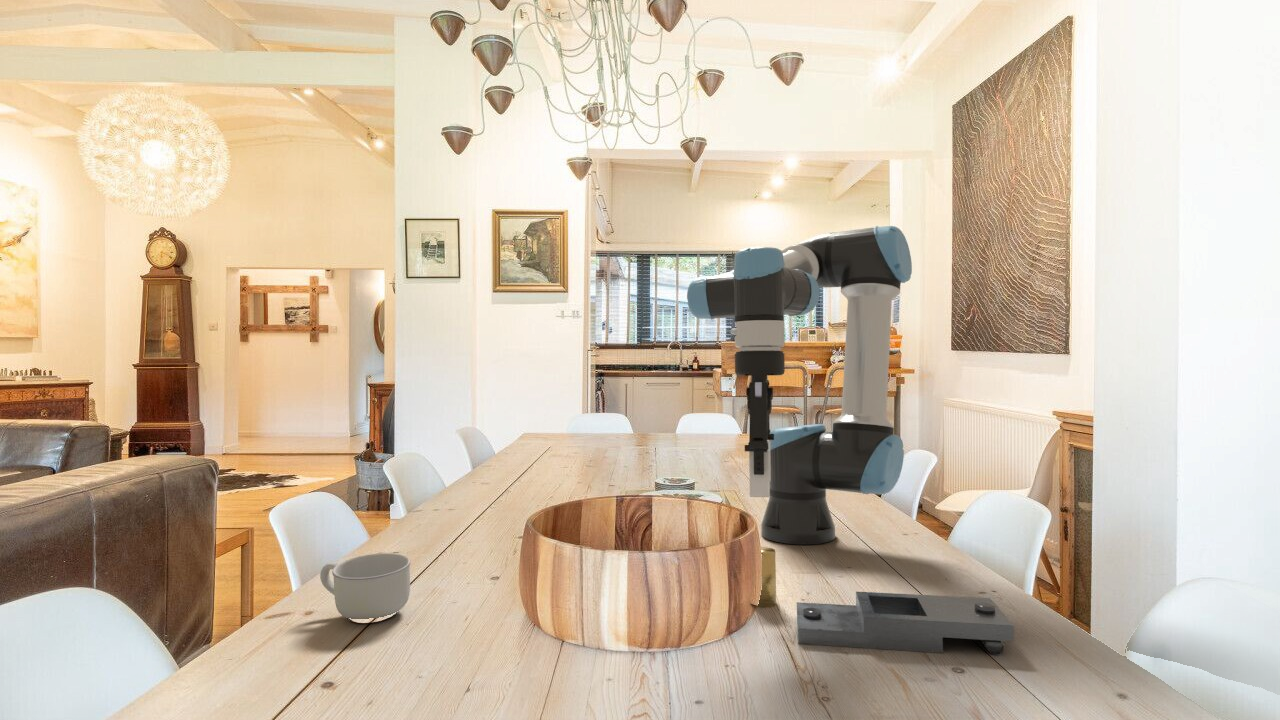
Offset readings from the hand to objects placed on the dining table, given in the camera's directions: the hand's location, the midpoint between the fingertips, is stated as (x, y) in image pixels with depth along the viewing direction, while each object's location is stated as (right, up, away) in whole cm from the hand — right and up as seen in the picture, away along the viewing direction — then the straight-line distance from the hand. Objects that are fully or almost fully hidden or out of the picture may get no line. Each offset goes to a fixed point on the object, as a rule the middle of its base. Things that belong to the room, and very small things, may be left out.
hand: (760, 488), depth 107 cm
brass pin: (0, -18, 0) cm, 18 cm away
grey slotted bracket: (+16, -17, -13) cm, 27 cm away
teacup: (-60, -19, -3) cm, 62 cm away
